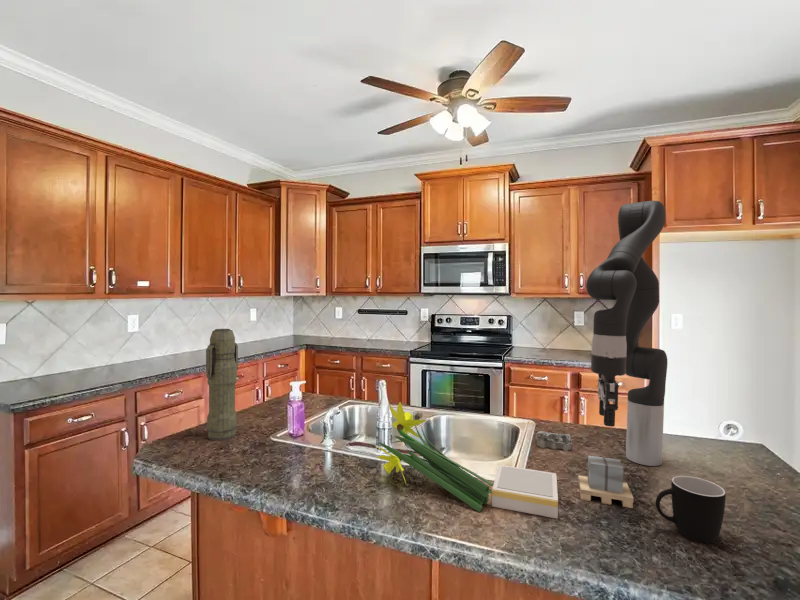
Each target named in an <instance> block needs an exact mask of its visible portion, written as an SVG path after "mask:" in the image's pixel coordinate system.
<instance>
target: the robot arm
mask: <svg viewBox="0 0 800 600" xmlns="http://www.w3.org/2000/svg"><path fill="white" fill-rule="evenodd" d="M617 224H618V225H617V226H618V234H619V240H618V242H617V243H616V244H614V246H613V247H612V249H611V250H610V252H609V253H608V255H607V258H606V259H605V260H604V261H603V262H601V263H600V264H599V265H598V266H596V267H595V268H594V269H593V270H592V271H591V273H590V274H589V275H588V278H587V281H586V284H585V285H586V286H585V287H586V288H585V289H586V292H587V294H588V295H589V297H590V298H592V299H594V300H599V301H600V300H602V301H603V300H604V301H606V300H607V301H608V300H610V301H611V300H612V301H615V303H614V305H613V306H612V307H610V308H605V309H599V310H597V311H595V312H594V315H593V331H592V333H593V334H592V340H591V354H590V355H591V356H590V357H591V358H590V370H591V372H593V373H594V374H597V375H598V379H597V396H598V400H599V401H598V402H599V404H598V413H599V415H600V416H603V425H604V426H605V427H611V428H613V427H615V426H616V423H615V422H616V411H618V409H619V387H620V386H619V382H617V380H616V377H618V376H619V377H620V376H621V377H622V376H624V375H626V376H627V377H631V378H636V379H637V378H638V379H643V380H648V385H646V386H644V387H637V388H632V389H629V390H628V391H627V403H626V404H627V407H626V410H627V411H626V412H627V413H626V436H625V437H626V439H625V458H626V459H627V460H629V461H631V462H633V463H636V464H638V465H639V464H640V465H643V466H647V467H657V466H660V465H662V464H663V448H664V445H663V444H664V419H665V416H664V413H665V395H666V383H667V373H668V355H667V353H666V351H665V350H663V349H661V348H653V347H644V346H639V345H640V343H639V341H640V335H641V332H642V330H643V329H644V327H645V326H646V324H647V323H648V321H649V320H650V319H651V317H652V316H653V315H654V313H655V312H656V310H657V309H658V307H659V304H660V282H659V279H658V276H657V275H656V273H655V272H654V271H653V269H652V268H651V267H650V265H649V264H648V263H647V261H645V259H644V257H642V256H643V255H644V254H645V251H646V250H647V249H648V248H649V247H650V246H651V244H652V243H653V242H654V241H655V239H656V238H658V236H659V235H660V234H661V232H662V231H663V229H664V227H665V224H666V209H665V205H664V204H663V202H661V201H659V200H648V201H639V202H630V203H626V204H623V205H621V206H620V208H619V209H618V215H617ZM611 402H612V403H611Z"/></svg>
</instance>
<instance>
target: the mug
mask: <svg viewBox="0 0 800 600" xmlns="http://www.w3.org/2000/svg"><path fill="white" fill-rule="evenodd" d="M670 484H671V486H670V487H671V488H669V489H668V488H667V489H665V490H662V491H661V492H660V493H658V494H657V495H656V498H655V508H656V510H657V512H658V514H659V515H660V516H661V517H662V518H664V519H665V520H667V521H669V522H670V523H674V526H675V527H676V529H677V531H678V532H679V534H680V535H682V536H684V537H685V538H687V539H689V540H691V541H695V542H698V543H702V544H712V543H714V542H716V541H717V539H718V537H719V535H720V533H721V531H722V530H721V529H722V526H723V522H724V521H723V520H724V516H725V511H726V509H725V508H726V497H727V495H726V491H725V489H724V488H723V487H722V486H721V485H718V484H717V483H714V482H712V481H710V480H707V479H703V478H700V477H696V476H691V475H690V476H688V475H676V476H674V477H672V479H671V483H670ZM667 495H671V507H672V516H670V515H667V514H665V512H663V510H662V509H661V506H660V504H661V501H662V499H663V498H664V497H665V496H667Z"/></svg>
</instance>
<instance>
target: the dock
mask: <svg viewBox="0 0 800 600" xmlns="http://www.w3.org/2000/svg"><path fill="white" fill-rule="evenodd" d="M557 479H558V478H557V473H555V472H550V471H549V472H548V471H543V470H536V469H530V468H525V467H524V468H522V467H516V466H510V465H503V464H498V466H497V468H496V474H495V478H494V479H493V481H494V482H493V484H494V485H493V486H492V489H491V491H492V493H491V507H493V508H499V509H504V510H508V511H509V510H510V511H515V512H519V513H526V514H530V515H536V516H542V517H547V518H552V519H558V518H559V517H558V515H559V512H558V511H559V510H558V509H559V495H558V481H557Z"/></svg>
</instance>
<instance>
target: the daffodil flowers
mask: <svg viewBox="0 0 800 600" xmlns="http://www.w3.org/2000/svg"><path fill="white" fill-rule="evenodd" d="M388 406H389V410H390V413H391V415H392V416H393V417H394V419H395V421H394V422H393V423H392V424H391V426H392V427H394V429H396V430H397V432H398V433H399V435H400V436H399V435H394V438H396V439H397V440H396V441H393V442H390V444H394V443H395V444H396V443H404V444H406V445H407V446H408V447H410V448H411V450H413V451H414V452H415V453H416V454H415V453H414V452H412V451H411V450H408V449H406V451H407V453H403V452H401V451H399V450H397V449H396V448H393V447H391V446H389V445H387V444H385V443H383V442H378V444H379V445H381V446H377V445H376V446H375V448H377V449H379V450H380V451H381V452H383V453H385V454H387V455H384V454H382V455H379V456H377V457H376V458H378V459H380V460H382V461H388V462H385V464H382V468H383V469H384V471H385V472H386V473H387V474H388V475H390V474H391V472H392V471H393V470H394V468H395V471H396V473H399V472H401V476H402V477H403V480H404V483H405V484H407V481H406V479H405V476H404V473H403V472H404V470H405V469H404V467H403V466H402V462H401V461H403V462H404V463H406V464H407V465H406V466H405V467H406V468H409V467H412V468H409V469H407V471H410V470H416V471H417V472H420V473H421V474H422V475H424V476H425V477H426V478H427V479H430V480H432V481H433V482H434V483H436V484H437V485H439V486H440V487H441V488H443V489H445V490H446V491H447V492H449V493H450V494H452V495H453V496H454V497H456V498H458V499H459V500H460V501H462V502H463V503H465V504H466V505H468V506H470V507H471V508H472V509H473V510H475V511H476V512H478V513H482V510H483V505H485V506H486V505H487V504H488V502H489V498H490V495H489V494H491V495H492V489H490V486H491V487H493V485H494V483H492V482H490V481H489V480H487V479H485V478H484V477H482V476H481V475H479V474H477V473H475V472H474V471H472V470H471V469H468V468H467V467H465V466H463V465H461V464H459V463H458V462H455V461H453V460H452V459H450V458H448V456H446V455H445V454H444V453H443V452H441V451H440V450H439V449H438V448H437V447H436V446H435V445H434V444H433V443H432V442H431V441H430V440H429V439H428V438H427V436H426V433H425V432H424V430H423V427H422V423H425V422H427V419H414V416H413V414H412V413H410V411H405V410H404V407H403V405H402V402H401V401H399V403H398V405H397V409H396V410H395V409H394V407H393V406H392V405H391V404H390V403H389V404H388ZM418 425H420V428H421V432H422V434H421V433H420V431H419V430H418V428H417V426H418ZM413 427H415V430H416V431H414V429H413ZM408 434H411V435H412V436H414V437H417V438H419V439H420V441H421V442H420V441H418V440H416V439H415V438H414V437H412V436H411V435H408ZM422 435H423V436H422ZM423 437H424V438H423ZM424 439H425V440H426V441H425V440H424ZM430 446H431V447H430ZM417 454H418V455H419V456H418V455H417Z"/></svg>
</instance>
